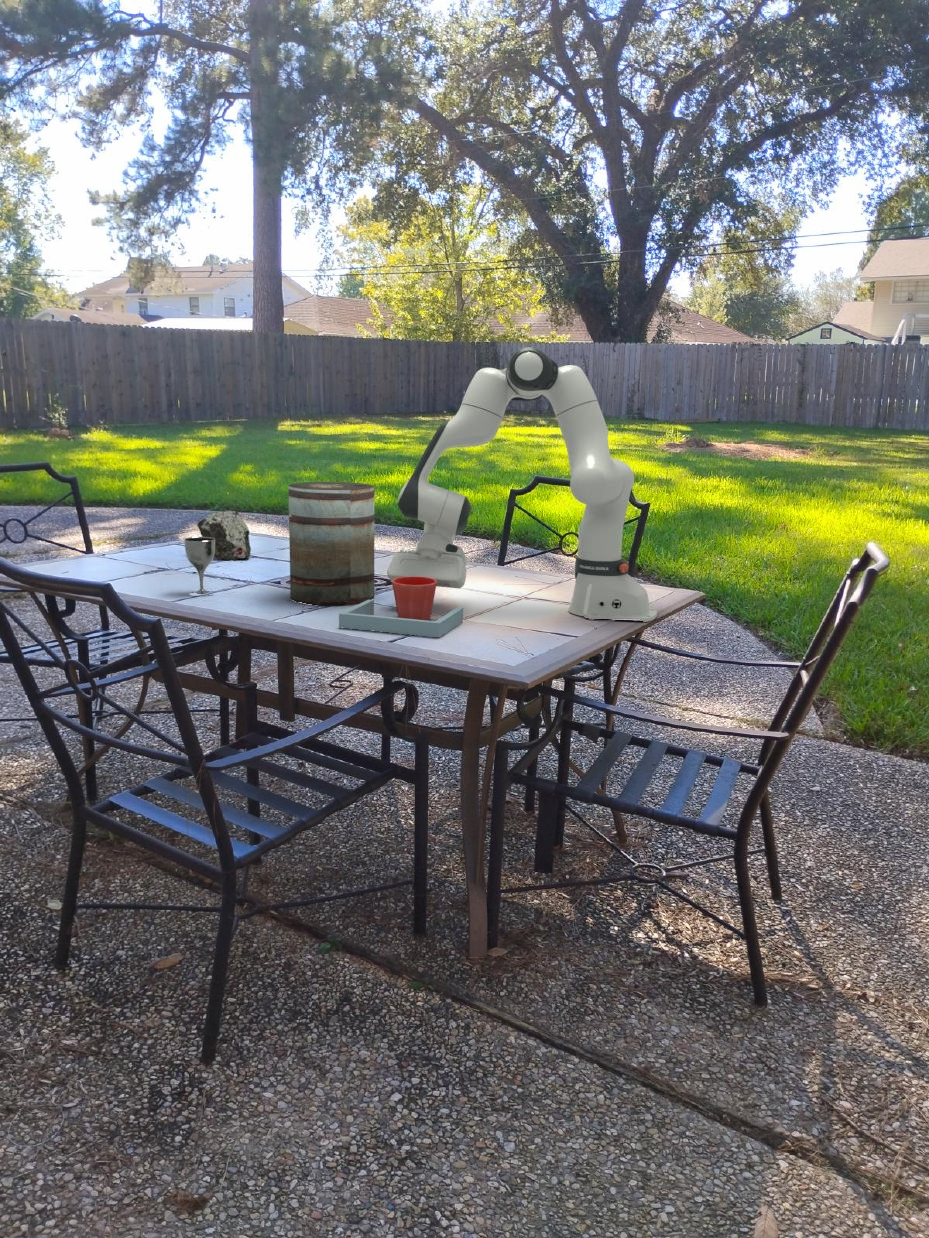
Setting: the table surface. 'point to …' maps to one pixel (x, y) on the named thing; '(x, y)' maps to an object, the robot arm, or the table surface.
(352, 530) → the barrel
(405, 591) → the flower pot
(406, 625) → the tray frame
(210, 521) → the stone
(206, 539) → the silver goblet
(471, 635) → the table surface
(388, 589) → the table surface
